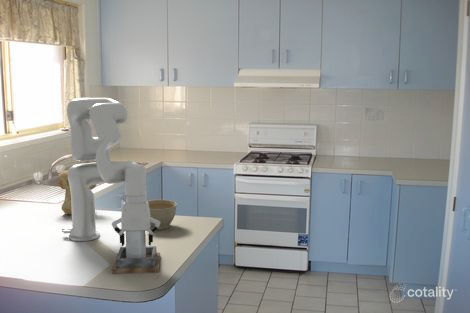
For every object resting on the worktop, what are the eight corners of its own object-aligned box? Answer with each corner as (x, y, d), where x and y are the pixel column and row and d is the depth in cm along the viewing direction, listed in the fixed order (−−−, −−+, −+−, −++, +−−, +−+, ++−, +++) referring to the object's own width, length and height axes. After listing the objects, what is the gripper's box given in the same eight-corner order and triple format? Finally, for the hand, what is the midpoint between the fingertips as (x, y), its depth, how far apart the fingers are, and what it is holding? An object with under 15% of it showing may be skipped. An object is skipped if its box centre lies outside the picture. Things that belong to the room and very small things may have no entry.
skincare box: (146, 259, 187) (145, 228, 185) (140, 263, 183) (140, 231, 181) (131, 257, 189) (131, 226, 187) (125, 261, 185) (125, 229, 183)
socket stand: (112, 273, 178) (111, 261, 177) (117, 257, 194) (117, 246, 193) (158, 272, 179) (158, 260, 179) (160, 256, 195) (159, 244, 194)
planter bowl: (133, 229, 229) (133, 205, 227) (155, 220, 243) (154, 198, 241) (163, 234, 222) (162, 210, 220) (183, 225, 236) (183, 202, 234)
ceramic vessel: (63, 208, 263) (61, 160, 259) (101, 207, 265) (100, 160, 261) (54, 217, 246) (51, 166, 242) (95, 216, 248) (93, 166, 244)
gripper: (109, 201, 178) (110, 248, 181) (159, 201, 180) (160, 247, 183) (112, 196, 185) (113, 241, 188) (160, 196, 187) (160, 240, 190)
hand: (136, 244), depth 185 cm, fingers open, 9 cm apart
